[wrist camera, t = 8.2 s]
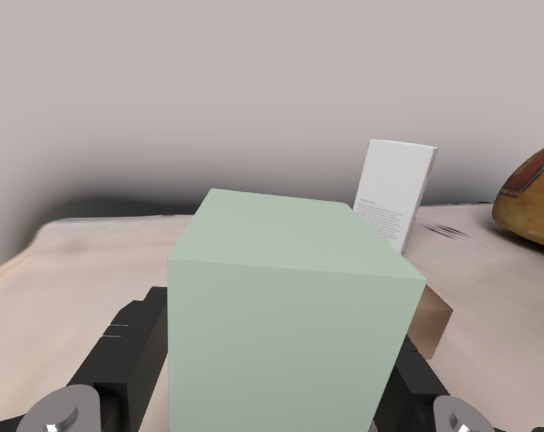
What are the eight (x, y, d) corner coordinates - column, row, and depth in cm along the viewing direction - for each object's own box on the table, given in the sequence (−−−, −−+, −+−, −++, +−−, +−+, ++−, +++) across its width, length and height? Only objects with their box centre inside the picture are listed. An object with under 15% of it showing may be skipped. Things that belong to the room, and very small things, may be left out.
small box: (360, 230, 38) (384, 139, 34) (406, 245, 35) (440, 147, 31) (341, 247, 32) (368, 137, 27) (396, 268, 29) (437, 147, 24)
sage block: (293, 418, 13) (345, 203, 9) (313, 568, 8) (427, 279, 5) (199, 416, 12) (211, 188, 8) (169, 575, 8) (166, 258, 4)
